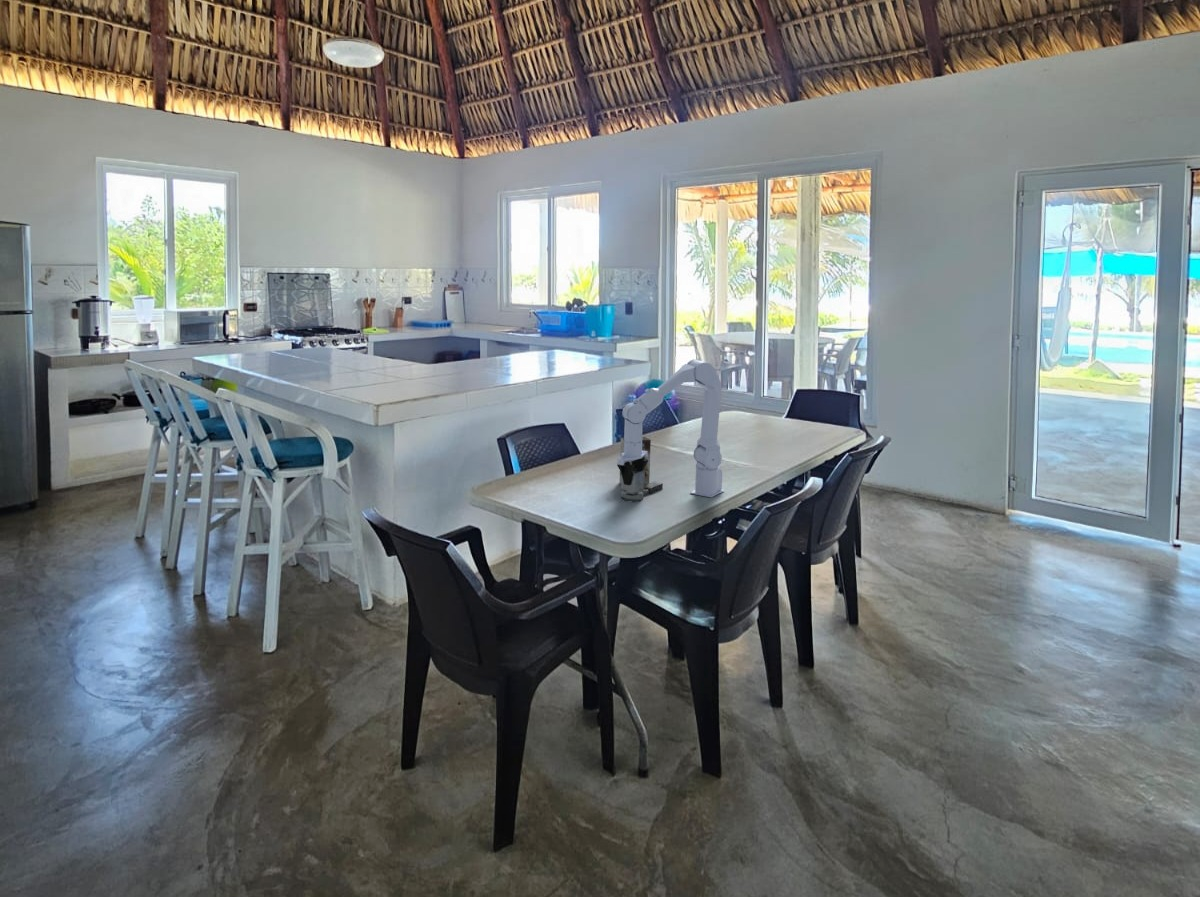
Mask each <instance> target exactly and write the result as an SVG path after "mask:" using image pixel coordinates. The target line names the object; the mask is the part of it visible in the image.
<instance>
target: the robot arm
mask: <svg viewBox="0 0 1200 897" xmlns="http://www.w3.org/2000/svg"><path fill="white" fill-rule="evenodd" d="M684 383H697V384H699V385H700V386H701V388H703V389H704V392H703V405H702V417H701V426H700V427H701V428H700V437H699V439H698V440H697V443H696V447H695V449H694V450H693V458H694V460H695V461H696V464H695V485H694V486H695V487H694V489H693V490H691V491H690V492H689V494H692V495H695V496H696V495H697V496H702V497H706V498H714V497H715V496H717V495H719V494H721V493H723V492H724V491H725V489H723V471H722V469H721V467H720V465H721V463H722V461H723V460H722V459H723V458H722V454H721V446H720V443H719V441H718V432H719V431H718V430H719V422H720V421H719V418H720V410H721V409H720V408H721V399H722V386H723V385H722V382H721V379H720V378H719V376H718V372H717V368H715V366H713V365H712V364H711V363H709V362H707V361H702V360H699V359H697V358H696V359H695V358H694V359H691V360H689V361H688V362H687V363H685V364H683V365H681V367H680V368H679V369H678V370H677V371H676V372H675V373H673V374H672V375H671V376H670V377H669V378H668V379H666V380H665V381H664V382H663V383H661V384H660V385H659V386H658V387H656V388H655V387H651V388H646V389H645V390H644V393H643V394H642V395H640V396H639V397H638V398H633V400H632V402H630V403H627V404H626V405H624V407H623V410H622V411H621V415H622V417H623V418H624V429H623V432H624V435H623V438H624V453H621V457H620V456H619V457H618V458H617V463H616V464H617V465H616V466H617V468H618V469H619V473H620V472H621V474H622V478H623V482H624V484H625V485H630V484H631V478H632V472H633V469H634V468H637V469H642V470H644V468H645V466H646V464H647V463H648V459H644V457H648V451H644V450H642V437H643V422H644V421H645V419H646V416H647V415H648V414H649V413H650V412H652V411H654V409H656V408H657V407H659V405H661V404H662V403H663V402H664V397H666V396H667V395H668V394H670V393H671V392H673V391H674V390H676V389H677V388H678V387H680V386H681V385H682V384H684ZM630 462H632V465H631V463H630Z"/></svg>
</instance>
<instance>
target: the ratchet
mask: <svg viewBox="0 0 1200 897" xmlns="http://www.w3.org/2000/svg"><path fill="white" fill-rule="evenodd" d="M663 484H664V483H663V482H658V481H652V482H649V484H647V485H644V488H643V489H641V490H638V491H636V492H634V491H629V490H625V489H624V490H622V491H621V494H620V496H621V501H623V500H624V502H627V501H632V502H631V503H637V502H636V501H638V502H641V500H642V501H643V500H644V497H645V495H646V496H648V495H651V494H654V493H656V492H660V490H663V489H664V488H663Z"/></svg>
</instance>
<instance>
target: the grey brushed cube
mask: <svg viewBox="0 0 1200 897" xmlns="http://www.w3.org/2000/svg"><path fill="white" fill-rule="evenodd" d="M644 479H645V470H642V469H637V468H634V469H633V472H632V478H631V484H630V485H625V484H624V482H623V478H622V474H621V483H620V489H621V490H624V491H625V490H629V491H634V492H636V491H638V490H641V489H643V488H644Z"/></svg>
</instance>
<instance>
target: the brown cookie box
mask: <svg viewBox="0 0 1200 897" xmlns="http://www.w3.org/2000/svg"><path fill="white" fill-rule="evenodd" d="M651 441H652V440H651V439H650V438H648V437H647V436H642V450H644V451H648V457H644V459H648V463H647V464H646V466H645V468H644V470H645V479H644V485H647V484H649V483H650V477H651V476H650V474H651V472H650V471H651V468H650V467H651V443H652V442H651ZM621 453H624V437H620V456H619V458H620V457H621ZM630 463H631V465H632V462H630ZM619 484H621V472H620V471H619Z"/></svg>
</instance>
